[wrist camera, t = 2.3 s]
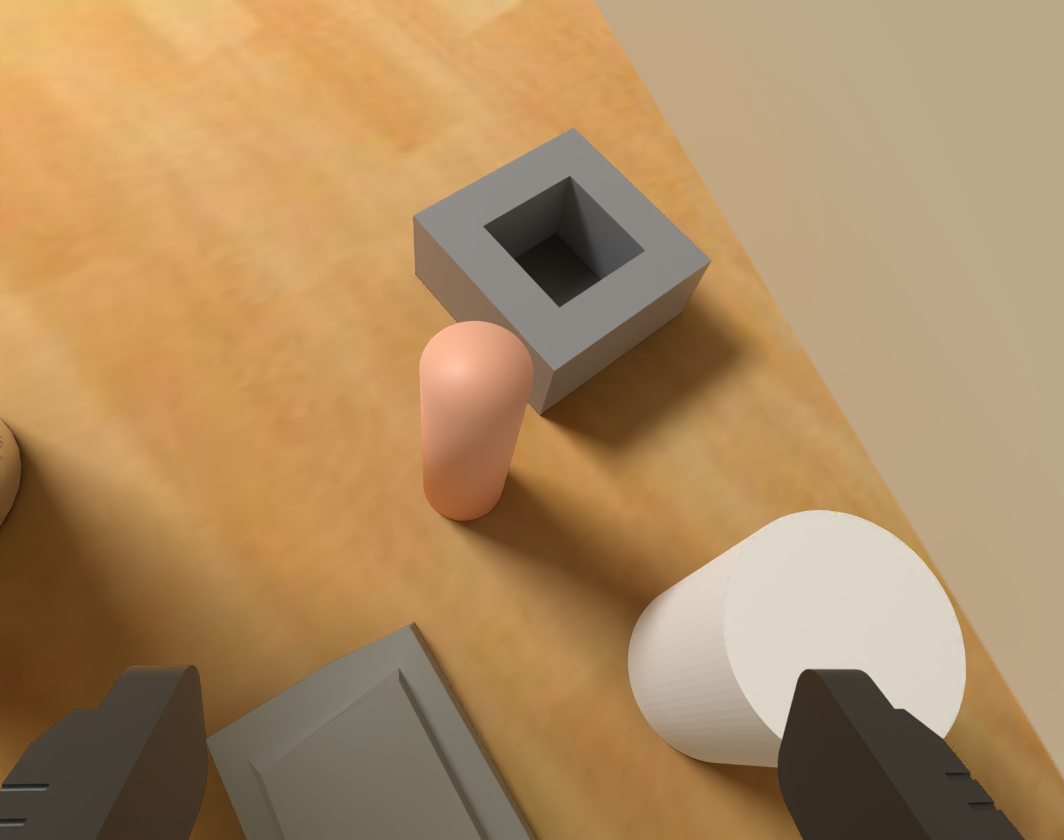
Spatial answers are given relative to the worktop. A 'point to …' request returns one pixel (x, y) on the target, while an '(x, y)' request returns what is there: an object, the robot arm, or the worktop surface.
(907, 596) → the white patterned cylinder
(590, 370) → the socket block
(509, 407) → the peg
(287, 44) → the worktop surface
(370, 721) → the soap mold
